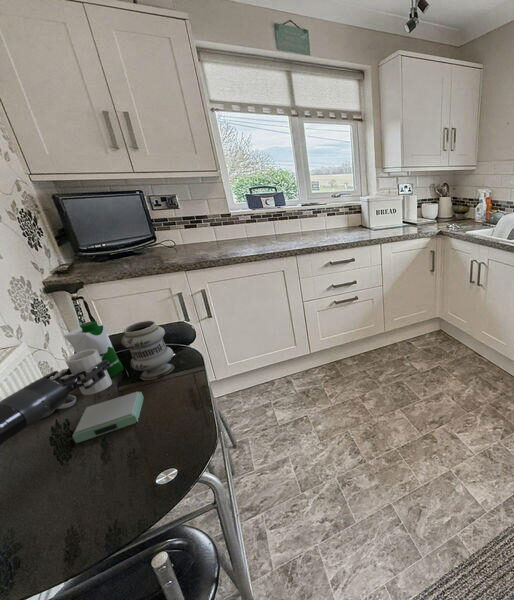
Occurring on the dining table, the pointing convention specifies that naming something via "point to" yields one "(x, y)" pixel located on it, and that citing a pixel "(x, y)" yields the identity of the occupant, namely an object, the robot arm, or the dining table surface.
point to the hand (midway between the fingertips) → (95, 363)
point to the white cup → (85, 362)
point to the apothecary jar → (148, 349)
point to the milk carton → (95, 344)
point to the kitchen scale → (109, 416)
